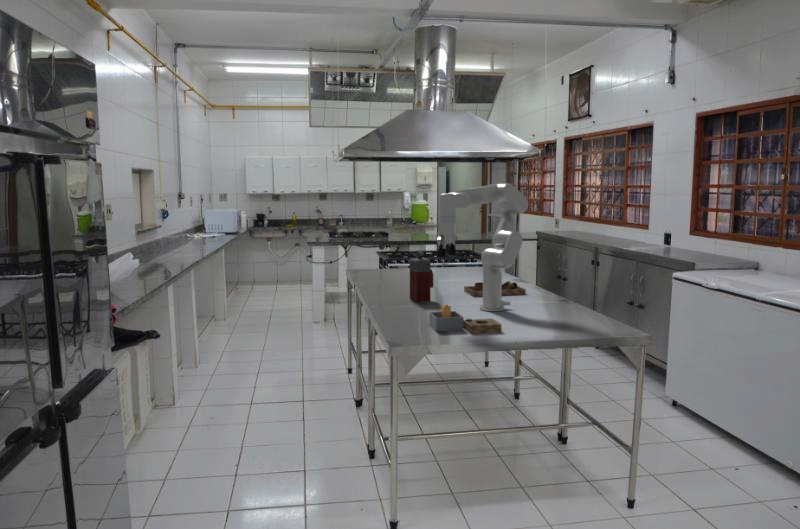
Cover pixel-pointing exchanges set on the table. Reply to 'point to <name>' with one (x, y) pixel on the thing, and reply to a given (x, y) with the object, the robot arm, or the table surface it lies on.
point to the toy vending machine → (420, 278)
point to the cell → (446, 311)
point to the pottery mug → (512, 285)
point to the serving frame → (504, 292)
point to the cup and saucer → (478, 287)
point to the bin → (446, 321)
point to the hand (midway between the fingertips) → (447, 255)
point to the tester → (481, 326)
